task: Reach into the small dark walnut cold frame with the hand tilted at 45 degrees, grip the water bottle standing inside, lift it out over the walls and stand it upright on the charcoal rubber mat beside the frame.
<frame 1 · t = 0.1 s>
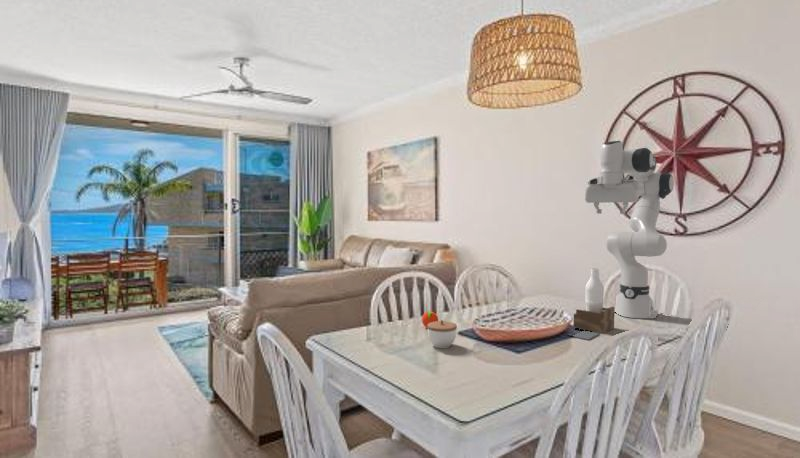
hand: (610, 213, 188), 48 cm above the table, tool pointing down, fingers open, 8 cm apart
lidded jar: (441, 346, 166), on the table
water bottle: (593, 328, 189), resting in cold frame
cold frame: (593, 328, 189), on the table
tomato: (429, 328, 190), on the table
mat: (580, 334, 179), on the table
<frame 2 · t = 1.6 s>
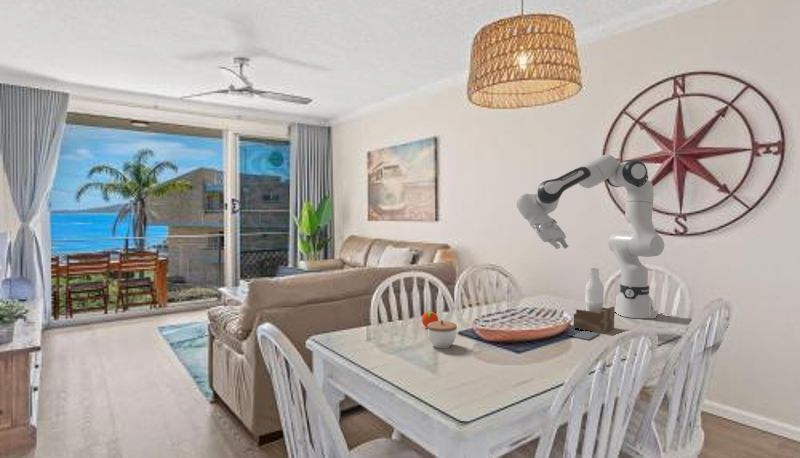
hand: (562, 247, 197), 33 cm above the table, tool tilted 45°, fingers open, 8 cm apart
nothing on the table moved.
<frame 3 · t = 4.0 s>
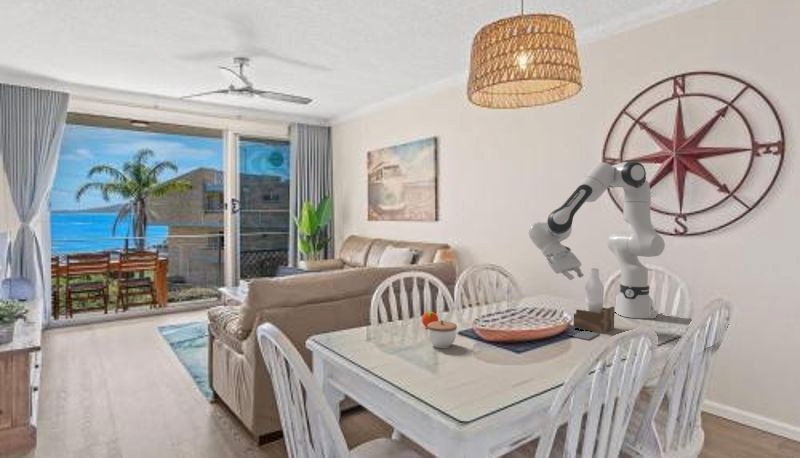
hand: (577, 277, 193), 20 cm above the table, tool tilted 45°, fingers open, 8 cm apart
nothing on the table moved.
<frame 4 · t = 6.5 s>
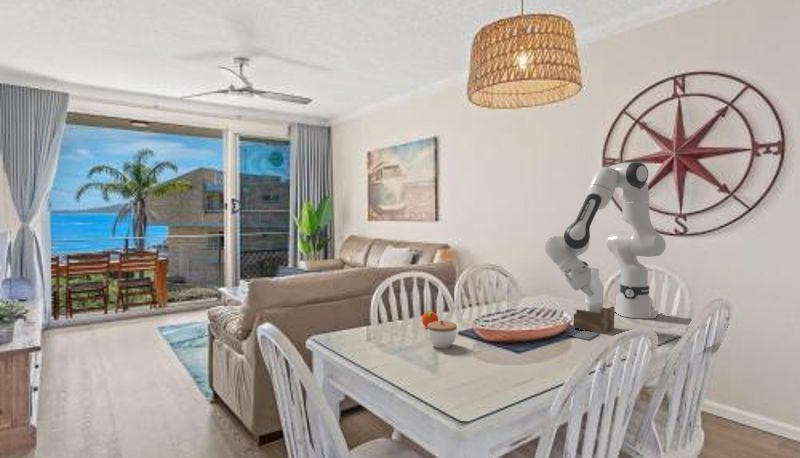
hand: (595, 294, 188), 14 cm above the table, tool tilted 45°, fingers closed on water bottle, 7 cm apart
water bottle: (593, 328, 189), resting in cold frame, touching gripper
everything else where it was.
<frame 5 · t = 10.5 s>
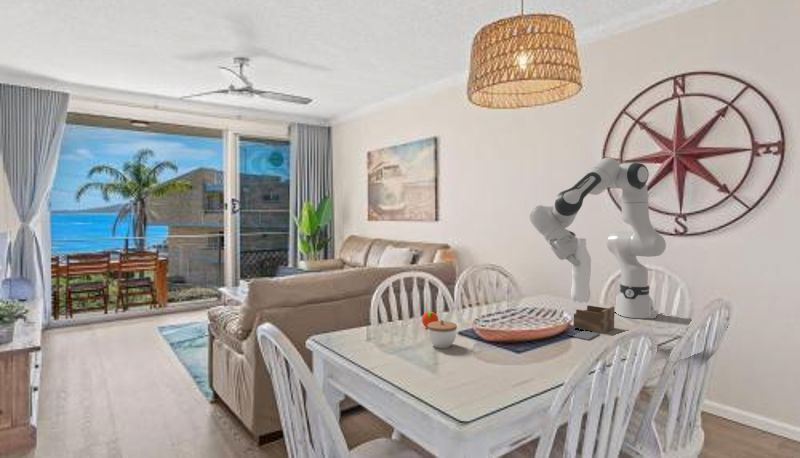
hand: (582, 264, 178), 28 cm above the table, tool tilted 45°, fingers closed on water bottle, 7 cm apart
water bottle: (580, 302, 179), point 13 cm above the table, touching gripper
everything else where it was.
when the fingers open (16 cm above the table, at t = 14.2 s): water bottle stays where it is, resting on mat.
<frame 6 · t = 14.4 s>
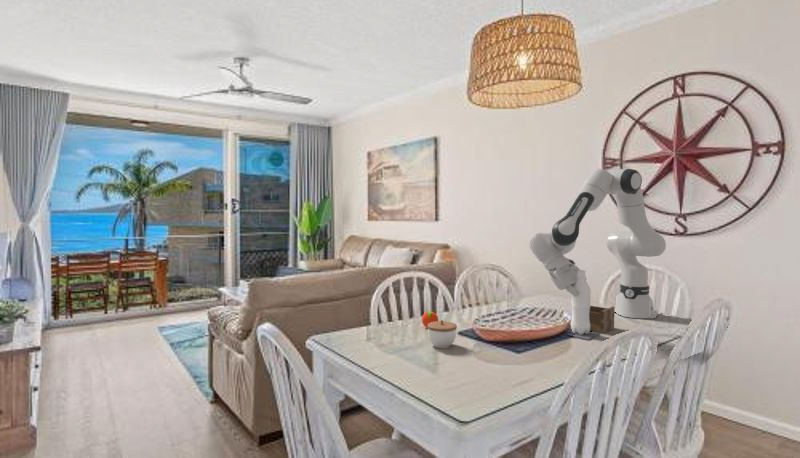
hand: (582, 294, 178), 16 cm above the table, tool tilted 45°, fingers open, 8 cm apart
water bottle: (580, 333, 180), resting on mat, touching gripper
everything else where it was.
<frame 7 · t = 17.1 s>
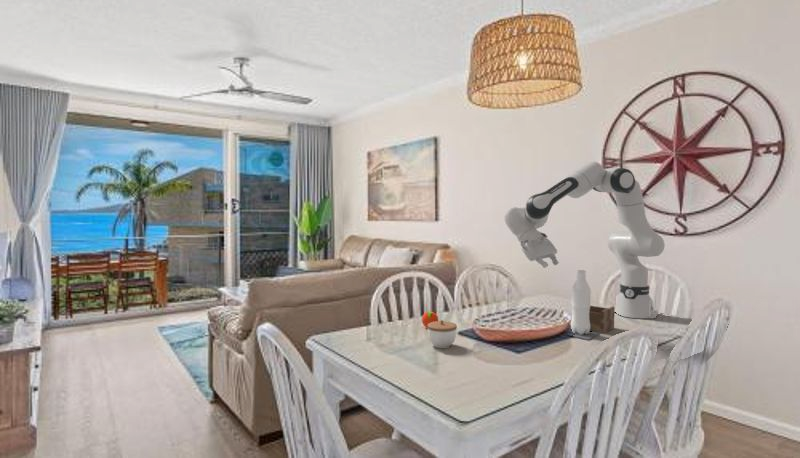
hand: (551, 265, 188), 26 cm above the table, tool tilted 40°, fingers open, 8 cm apart
water bottle: (580, 333, 180), resting on mat
everything else where it was.
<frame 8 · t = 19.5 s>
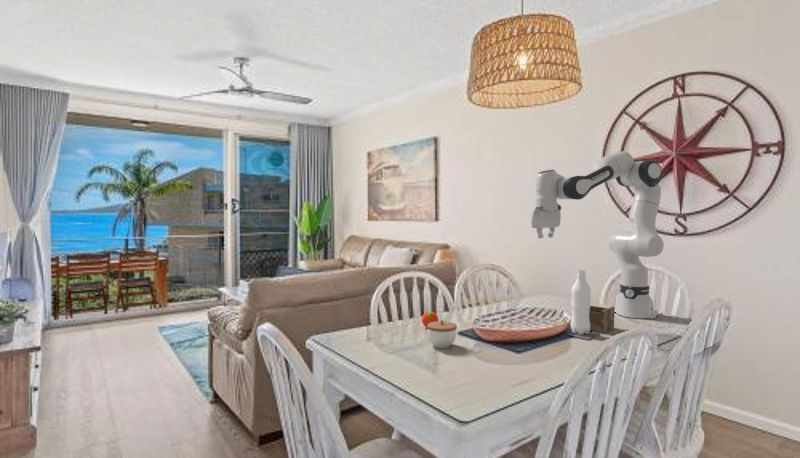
hand: (545, 237, 201), 37 cm above the table, tool pointing down, fingers open, 8 cm apart
nothing on the table moved.
at the end: water bottle inside the target area on the mat (0.5 cm from its centre), point 0.3 cm above the mat's base; water bottle tilted 0°; the gripper is holding nothing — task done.
